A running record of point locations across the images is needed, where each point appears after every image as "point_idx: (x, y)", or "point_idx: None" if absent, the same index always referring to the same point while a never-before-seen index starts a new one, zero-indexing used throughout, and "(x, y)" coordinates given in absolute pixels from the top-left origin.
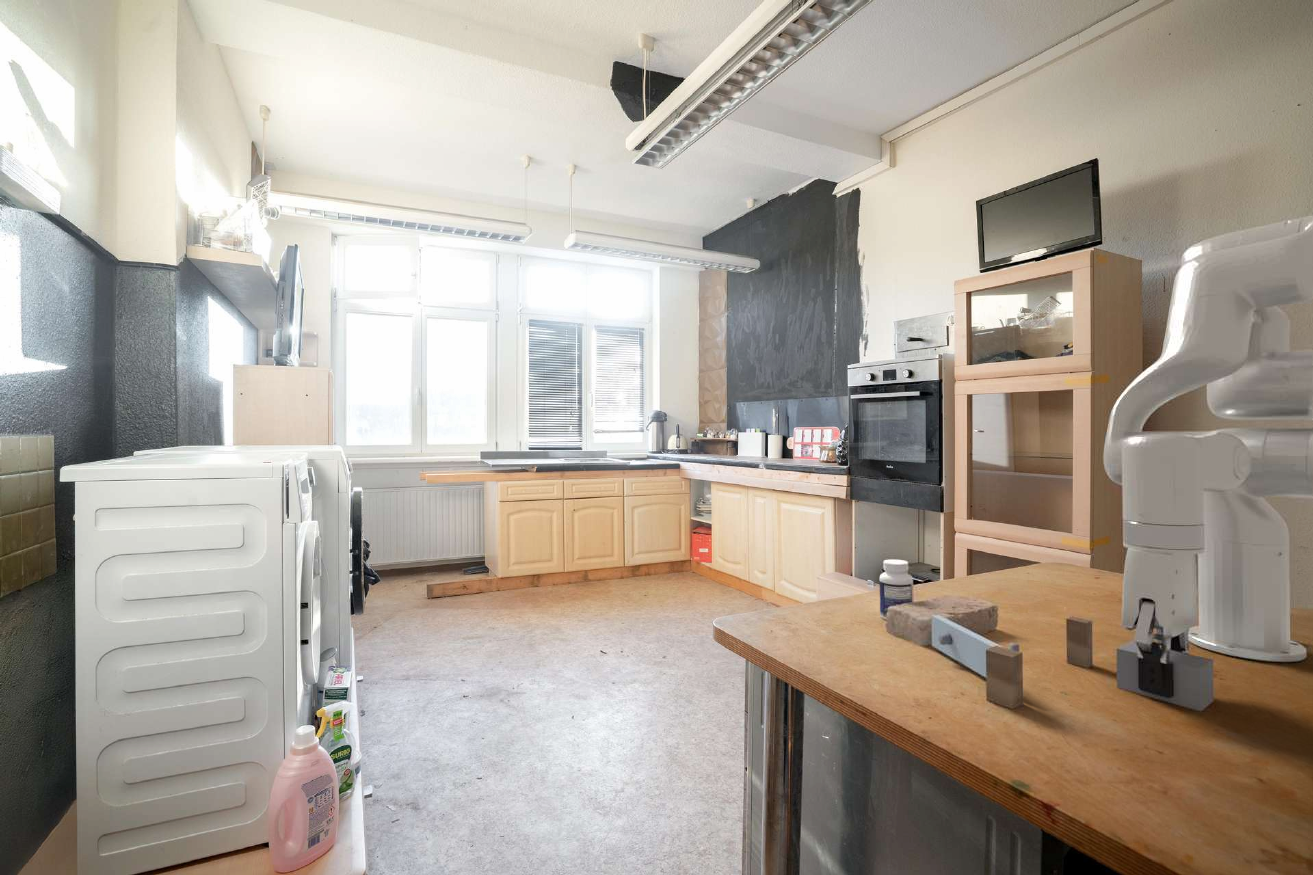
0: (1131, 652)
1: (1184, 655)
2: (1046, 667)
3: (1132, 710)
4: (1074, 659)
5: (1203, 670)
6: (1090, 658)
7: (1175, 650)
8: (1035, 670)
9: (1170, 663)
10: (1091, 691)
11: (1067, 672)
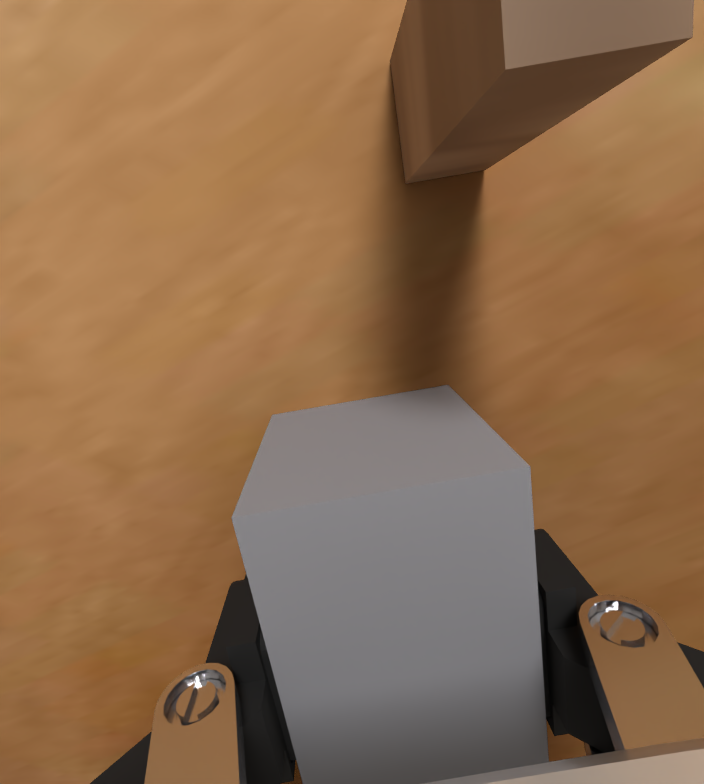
0: (253, 599)
1: (495, 754)
2: (191, 48)
3: (88, 570)
4: (402, 97)
5: None
6: (469, 164)
7: (554, 695)
8: (77, 45)
9: (282, 773)
10: (108, 390)
11: (234, 171)
